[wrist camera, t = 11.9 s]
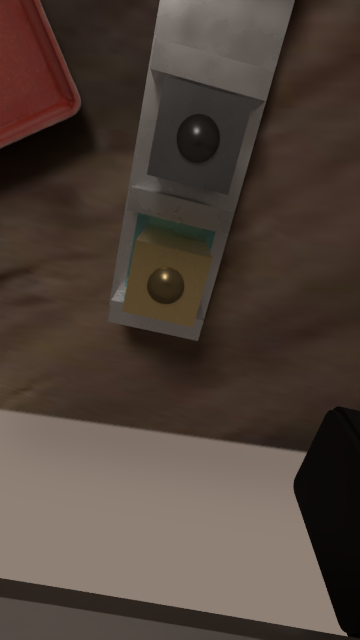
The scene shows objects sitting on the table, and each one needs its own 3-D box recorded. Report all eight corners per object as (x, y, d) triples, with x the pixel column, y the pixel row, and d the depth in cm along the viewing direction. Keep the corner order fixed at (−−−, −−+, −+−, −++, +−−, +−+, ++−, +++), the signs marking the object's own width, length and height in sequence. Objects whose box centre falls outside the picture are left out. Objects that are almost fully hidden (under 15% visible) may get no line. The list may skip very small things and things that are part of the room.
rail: (306, -59, 21) (340, -124, 17) (201, 317, 31) (204, 342, 27) (181, -100, 21) (180, -178, 16) (113, 298, 31) (101, 320, 26)
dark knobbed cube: (233, 121, 24) (254, 100, 17) (216, 190, 25) (228, 195, 19) (169, 104, 23) (164, 75, 16) (155, 175, 25) (146, 174, 18)
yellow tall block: (204, 238, 26) (212, 259, 20) (190, 292, 28) (192, 328, 21) (147, 223, 26) (135, 240, 19) (136, 280, 28) (121, 312, 21)
